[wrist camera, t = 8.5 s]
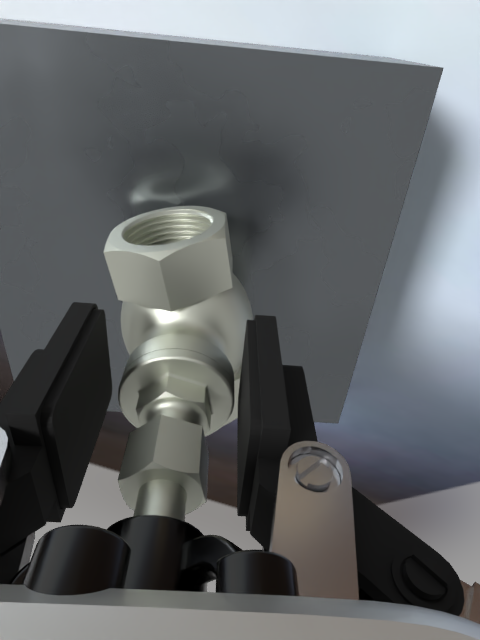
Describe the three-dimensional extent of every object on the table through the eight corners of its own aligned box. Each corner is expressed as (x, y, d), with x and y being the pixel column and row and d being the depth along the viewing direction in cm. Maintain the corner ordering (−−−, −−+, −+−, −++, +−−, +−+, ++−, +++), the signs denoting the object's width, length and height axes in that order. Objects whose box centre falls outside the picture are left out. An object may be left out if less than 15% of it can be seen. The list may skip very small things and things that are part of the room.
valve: (127, 368, 18) (-4, 796, 8) (75, 213, 14) (-287, 643, 4) (288, 352, 18) (362, 777, 8) (277, 189, 14) (391, 595, 4)
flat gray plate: (58, 338, 23) (20, 406, 19) (2, 18, 16) (-83, 14, 11) (319, 354, 24) (338, 423, 20) (389, 57, 16) (443, 68, 12)
